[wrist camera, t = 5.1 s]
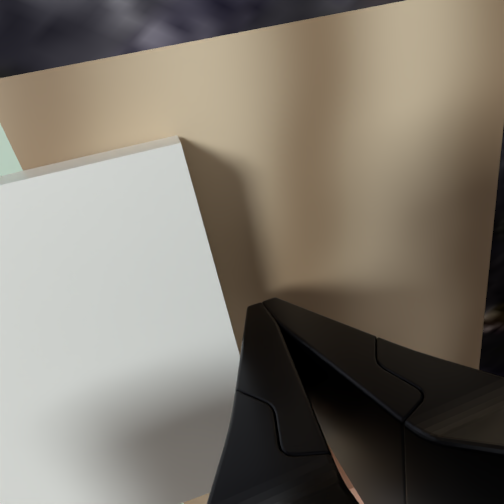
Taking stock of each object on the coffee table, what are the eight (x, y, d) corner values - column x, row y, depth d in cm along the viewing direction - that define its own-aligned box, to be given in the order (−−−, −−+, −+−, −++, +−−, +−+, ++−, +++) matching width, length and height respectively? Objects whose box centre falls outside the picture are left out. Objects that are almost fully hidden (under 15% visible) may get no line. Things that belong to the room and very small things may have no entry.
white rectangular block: (176, 134, 8) (180, 142, 6) (253, 408, 12) (271, 469, 10) (-133, 206, 7) (-251, 243, 5) (56, 476, 11) (31, 559, 9)
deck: (432, 10, 12) (518, -21, 9) (425, 451, 21) (465, 499, 18) (28, 91, 9) (-20, 81, 7) (223, 541, 19) (235, 611, 16)
